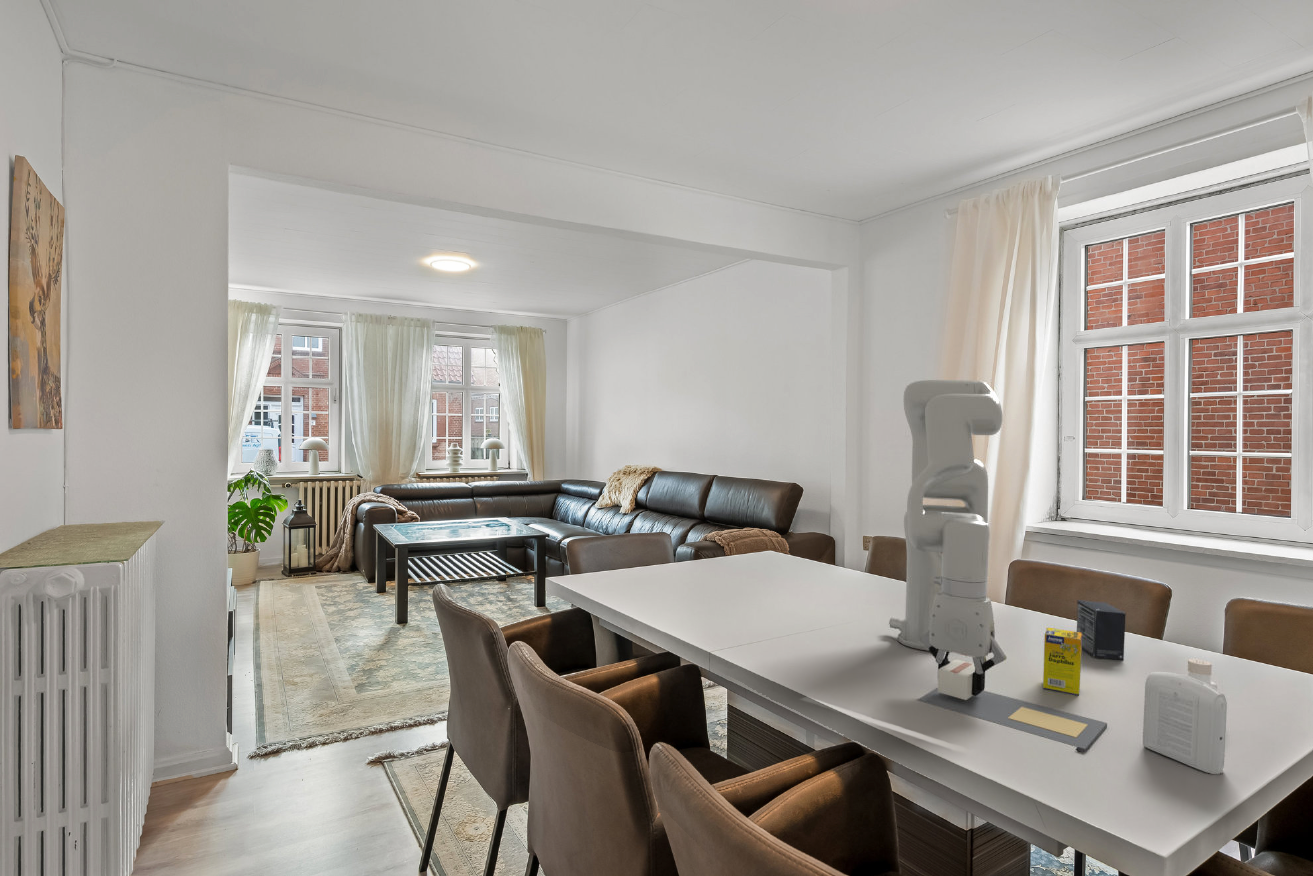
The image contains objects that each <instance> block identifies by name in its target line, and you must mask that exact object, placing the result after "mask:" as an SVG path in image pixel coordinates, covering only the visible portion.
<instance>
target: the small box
mask: <svg viewBox="0 0 1313 876" xmlns="http://www.w3.org/2000/svg"><path fill="white" fill-rule="evenodd" d="M1126 615H1127V613H1126V612H1125V611H1123V610H1121V609H1119V608H1117V607H1115V606H1113V605H1111V604H1109V603H1107V602H1101V601H1090V600H1081V599H1078V600H1077V617H1076V632H1080V633H1082V649H1081V650H1083V651H1084V652H1086V653H1087V654H1088V655H1089V656H1091V658H1094V659H1095V658H1097V659H1108V660H1117V661H1118V660H1120V661H1124V659H1125V639H1126V638H1125V637H1126V636H1125V635H1126Z"/></svg>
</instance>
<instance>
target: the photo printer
mask: <svg viewBox="0 0 1313 876" xmlns="http://www.w3.org/2000/svg"><path fill="white" fill-rule="evenodd" d="M1143 700H1144V701H1143V703H1144V705H1143V726H1142V745H1143V747H1146V748H1147V749H1149V750H1151V751H1153V752H1155V753H1158V754H1159V755H1163V756H1166V757H1169V758H1170V759H1173V760H1175V761H1178V762H1180V763H1183V764H1185V765H1187V766H1189V767H1192V768H1195V769H1197V770H1199V771H1202V772H1205V773H1207V774H1209V773H1210V775H1220V773H1221V774H1222V773H1223V772H1224V771H1223V770H1224V768H1225V757H1226V755H1225V753H1226V735H1227V734H1226V732H1227V714H1228V713H1227V709H1228V706H1227V705H1228V702H1227V698H1226V695H1225V694H1224V693H1222V692H1221V691H1220V690H1218V688H1217V689H1215V688H1213V687H1212V686H1210V685H1208V684H1206V683H1204V682H1202V681H1199V680H1197V679H1194V678H1191V677H1189V676H1188V675H1185V674H1180V673H1175V672H1167V671H1165V672H1164V671H1154V672H1149V674H1148V675H1147V677H1146V681H1145V685H1144V699H1143Z"/></svg>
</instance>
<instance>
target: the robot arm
mask: <svg viewBox="0 0 1313 876" xmlns="http://www.w3.org/2000/svg"><path fill="white" fill-rule="evenodd" d="M903 410H904V414H905V415H904V416H905V418H906V420H907V424H908V426H909V429H910V433H911V437H912V439H911V440H912V441H911V442H912V445H911V446H912V451H911V452H912V453H911V456H912V457H911V458H912V459H911V486H910V488H909V491H908V495H907V498H906V499H907V501H906V502H907V503H906V512H905V514H904V518H903V528H904V529H903V530H904V536H905V544H906V546H905V547H906V548H905V549H906V579H905V580H906V581H905V583H906V585H905V615H904V619H902V620H901V619H899V618H895V617H890V619H889V620H888V621H889V622H888V623H889V628H890V629H891V628H892V629H895V630H896V629H897V630H899V631H900V633H898V634H897V641H898V642H899V643H900V644H902V645H903V646H906V647H909V648H912V649H917V650H922V651H929V653H930V654H931V656H933V658H934V659H935V663H937V670H938V669H940V668H942V667H943V666H946V665H948V664H949V663H950V662H951V661H950V660H949V656H950V654H951V653H952V654H957V655H961V656H965V657H970V658H972V662H973V664H974V666H975V672H974V673H973V676H972V695H974V696H977V695H978V694H980V693H981V692H982V691H983V690H984V691H985V687H986V685H985V684H986V672H987V671H988V670H989V669H991V668H992V667H995V666H997V665H998V664H1001V663H1003V662H1004V661H1005V660H1007V656H1006V654H1005V653H1004V651H1003V649H1002V648H1001V647H1000V645H999V643H998V642H997V641H996V639H995V637H996V636H995V634H996V632H995V631H996V630H995V620H994V619H995V618H994V611H993V606H992V600H991V598H990V597H988V579H989V578H988V576H989V575H988V574H989V548H990V546H989V544H990V543H989V542H990V535H991V534H990V527H989V523H988V522H989V521H988V520H989V518H988V517H989V510H988V509H989V475H988V471H987V469H986V466H985V464H984V463H983V462H982V461H980V460H978V459H976V458H975V456H974V454H975V453H974V444H973V436H993V435H996V434H997V433H998V432H999V431H1000V430H1001V428H1002V424H1003V410H1002V405H1001V402H1000V400H999V398H998V396H997V395H996V393H995V391H994V390H993V389H992V388H991V387H990V385H989V384H987V382H984V381H980V380H956V379H955V380H953V379H952V380H951V379H925V380H924V379H923V380H918V381H914V382H910V383H909V384H908V385H907V386H906V387H905V388H904V392H903ZM924 499H930V500H944V501H945V500H948V501H961V502H963V505H964V506H960V505H959V506H958V505H957V506H956V505H955V506H954V505H946V504H945V505H943V504H939V505H938V504H923V500H924ZM989 654H992V655H993V657H991V658H988V660H987V657H988V655H989Z"/></svg>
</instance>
